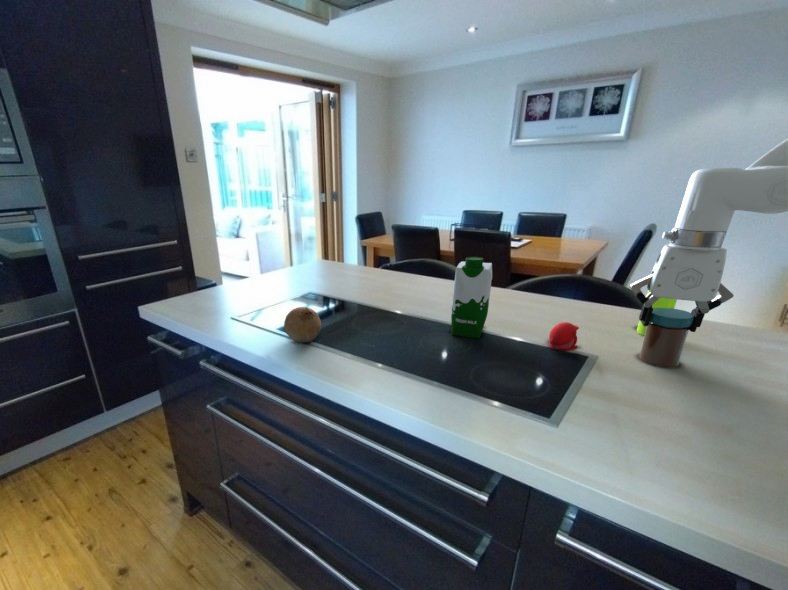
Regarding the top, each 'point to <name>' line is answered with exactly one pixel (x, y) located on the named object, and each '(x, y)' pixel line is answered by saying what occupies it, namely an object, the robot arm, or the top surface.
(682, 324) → the lid
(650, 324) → the jar
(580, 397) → the top surface
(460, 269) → the milk carton
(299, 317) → the brown round piece
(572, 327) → the cap
